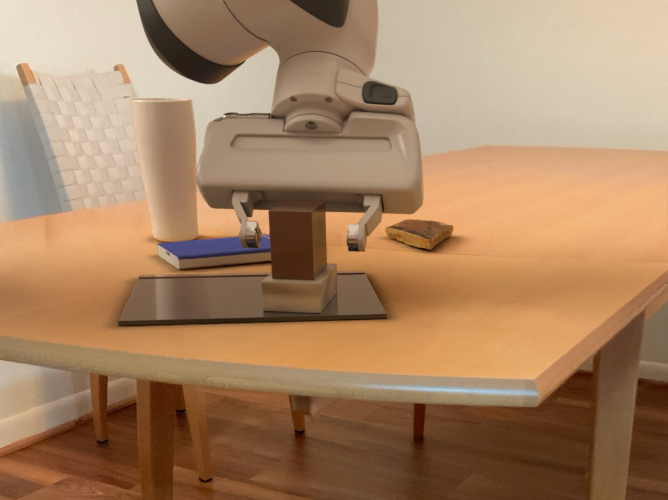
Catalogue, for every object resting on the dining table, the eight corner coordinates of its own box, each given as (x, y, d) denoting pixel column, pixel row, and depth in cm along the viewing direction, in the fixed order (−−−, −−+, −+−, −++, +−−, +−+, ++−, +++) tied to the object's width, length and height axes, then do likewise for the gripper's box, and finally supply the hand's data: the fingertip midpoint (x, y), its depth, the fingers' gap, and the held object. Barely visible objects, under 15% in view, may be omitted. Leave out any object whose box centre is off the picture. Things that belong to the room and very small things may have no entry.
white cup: (136, 238, 109) (119, 98, 102) (186, 232, 113) (173, 97, 106) (164, 246, 104) (149, 101, 97) (216, 240, 108) (204, 99, 101)
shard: (430, 252, 103) (430, 236, 102) (366, 248, 105) (366, 231, 104) (455, 237, 112) (456, 221, 111) (396, 232, 114) (396, 217, 113)
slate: (118, 325, 74) (117, 319, 74) (139, 280, 89) (139, 275, 89) (386, 318, 77) (386, 312, 77) (364, 275, 92) (364, 270, 92)
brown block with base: (320, 313, 77) (317, 213, 73) (262, 311, 77) (256, 212, 74) (337, 292, 84) (335, 199, 80) (284, 289, 84) (279, 198, 81)
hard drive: (265, 233, 104) (156, 241, 99) (292, 245, 98) (178, 254, 92) (265, 247, 105) (158, 256, 99) (292, 260, 98) (179, 270, 93)
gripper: (199, 87, 81) (174, 219, 77) (428, 91, 80) (414, 227, 76) (218, 137, 87) (196, 263, 83) (431, 142, 86) (419, 270, 82)
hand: (302, 246), depth 79 cm, fingers open, 8 cm apart
